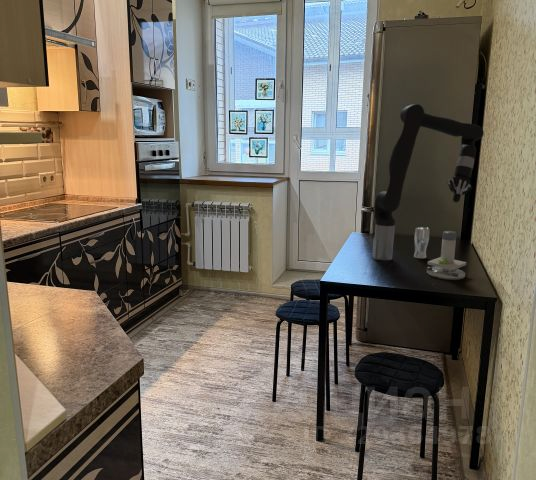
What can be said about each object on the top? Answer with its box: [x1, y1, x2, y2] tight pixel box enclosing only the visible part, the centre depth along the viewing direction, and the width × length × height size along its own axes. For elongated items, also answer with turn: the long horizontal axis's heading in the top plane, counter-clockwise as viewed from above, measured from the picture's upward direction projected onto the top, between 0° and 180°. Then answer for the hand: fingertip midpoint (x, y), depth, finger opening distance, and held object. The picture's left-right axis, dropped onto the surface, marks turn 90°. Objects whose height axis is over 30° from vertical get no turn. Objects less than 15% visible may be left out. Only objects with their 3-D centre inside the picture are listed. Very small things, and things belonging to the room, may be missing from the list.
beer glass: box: [413, 226, 430, 260], centre depth 239 cm, size 7×7×15 cm
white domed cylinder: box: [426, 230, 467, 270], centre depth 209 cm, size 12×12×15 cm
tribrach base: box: [426, 266, 466, 281], centre depth 211 cm, size 16×16×4 cm
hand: (455, 202), depth 226 cm, fingers closed
